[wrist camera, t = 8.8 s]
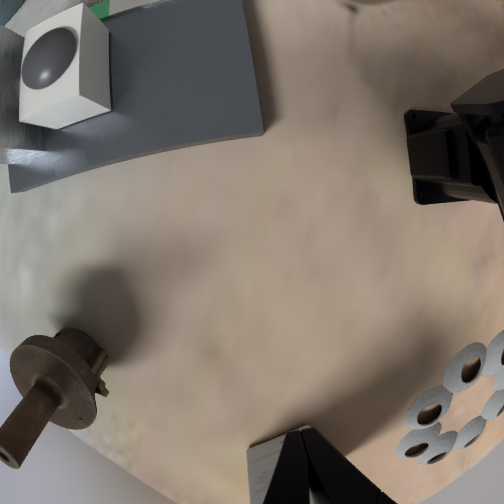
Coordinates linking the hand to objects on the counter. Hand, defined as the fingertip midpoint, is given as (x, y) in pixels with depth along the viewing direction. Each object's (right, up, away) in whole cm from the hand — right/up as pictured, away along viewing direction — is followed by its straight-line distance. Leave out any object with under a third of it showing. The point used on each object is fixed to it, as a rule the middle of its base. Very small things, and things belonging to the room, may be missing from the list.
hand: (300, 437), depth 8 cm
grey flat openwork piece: (+23, -11, +17) cm, 30 cm away
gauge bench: (-10, +17, +8) cm, 21 cm away
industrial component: (-14, -3, +13) cm, 19 cm away
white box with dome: (-13, +17, +6) cm, 23 cm away
